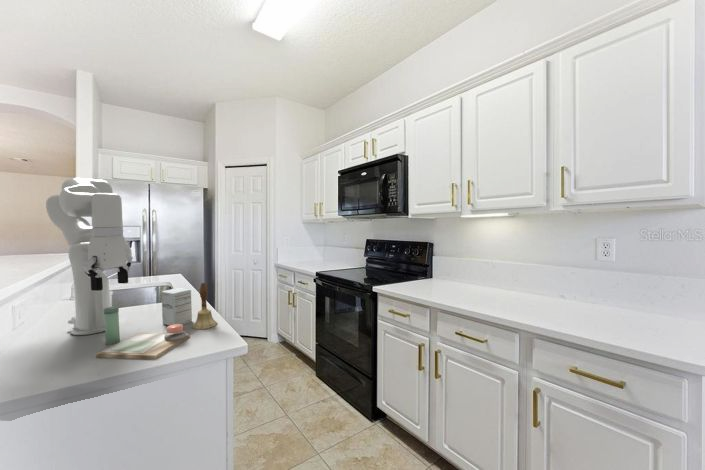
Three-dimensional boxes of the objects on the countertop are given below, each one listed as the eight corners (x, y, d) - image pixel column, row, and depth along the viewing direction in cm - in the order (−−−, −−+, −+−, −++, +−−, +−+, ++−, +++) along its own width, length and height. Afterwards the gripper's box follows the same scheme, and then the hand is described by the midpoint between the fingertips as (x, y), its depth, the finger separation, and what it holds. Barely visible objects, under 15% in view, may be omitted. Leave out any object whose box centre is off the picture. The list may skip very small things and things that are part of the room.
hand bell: (187, 328, 110) (185, 285, 109) (202, 321, 118) (200, 280, 117) (207, 330, 109) (206, 285, 108) (221, 322, 117) (220, 281, 116)
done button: (163, 333, 97) (163, 328, 97) (172, 328, 102) (172, 323, 102) (177, 333, 97) (177, 329, 97) (186, 328, 101) (186, 324, 101)
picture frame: (96, 357, 88) (95, 350, 88) (138, 335, 104) (138, 329, 103) (155, 358, 86) (155, 352, 86) (189, 336, 102) (189, 331, 102)
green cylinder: (102, 345, 96) (100, 310, 95) (112, 340, 100) (110, 306, 99) (113, 345, 96) (111, 310, 95) (123, 340, 100) (121, 306, 99)
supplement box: (161, 324, 115) (160, 291, 114) (180, 318, 121) (179, 287, 120) (173, 327, 111) (172, 293, 110) (192, 321, 118) (191, 289, 117)
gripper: (119, 231, 105) (121, 280, 106) (69, 234, 88) (73, 293, 89) (140, 231, 104) (142, 281, 105) (94, 234, 87) (97, 293, 88)
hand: (110, 286), depth 97 cm, fingers open, 9 cm apart
